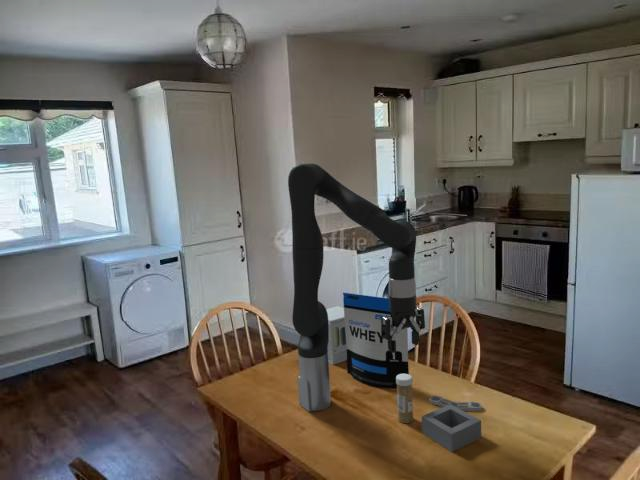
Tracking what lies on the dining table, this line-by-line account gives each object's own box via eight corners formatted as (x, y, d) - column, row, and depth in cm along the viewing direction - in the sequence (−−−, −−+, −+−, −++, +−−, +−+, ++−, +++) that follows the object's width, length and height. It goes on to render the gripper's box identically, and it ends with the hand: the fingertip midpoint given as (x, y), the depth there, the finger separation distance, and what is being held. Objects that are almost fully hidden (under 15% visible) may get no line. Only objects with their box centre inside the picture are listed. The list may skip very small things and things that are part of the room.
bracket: (438, 390, 154) (483, 403, 144) (438, 395, 155) (483, 409, 145) (426, 399, 149) (472, 413, 139) (426, 405, 149) (473, 419, 139)
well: (451, 452, 124) (451, 434, 123) (422, 433, 134) (421, 416, 133) (481, 437, 130) (481, 420, 129) (450, 420, 139) (450, 404, 138)
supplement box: (332, 365, 181) (329, 320, 178) (313, 355, 192) (310, 312, 189) (360, 356, 188) (358, 312, 185) (340, 346, 199) (338, 305, 196)
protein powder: (354, 368, 178) (350, 289, 173) (415, 382, 163) (412, 297, 158) (340, 378, 170) (335, 296, 165) (403, 394, 156) (399, 305, 151)
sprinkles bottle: (416, 422, 139) (414, 378, 137) (401, 425, 138) (399, 381, 136) (409, 414, 144) (408, 371, 141) (395, 417, 143) (393, 374, 140)
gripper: (412, 285, 142) (413, 338, 144) (373, 295, 134) (376, 350, 137) (430, 290, 135) (431, 345, 138) (391, 300, 128) (393, 358, 131)
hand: (404, 348), depth 137 cm, fingers open, 8 cm apart
